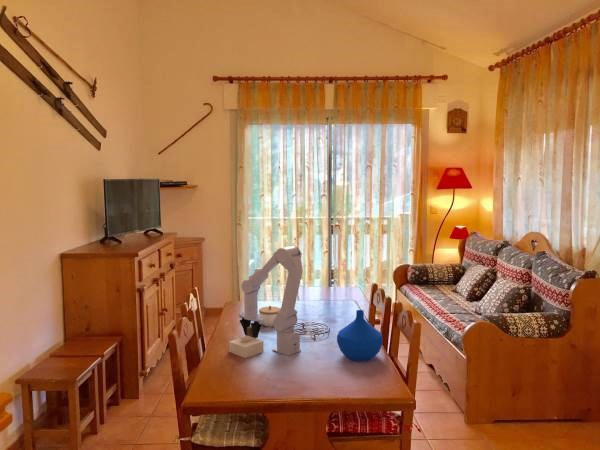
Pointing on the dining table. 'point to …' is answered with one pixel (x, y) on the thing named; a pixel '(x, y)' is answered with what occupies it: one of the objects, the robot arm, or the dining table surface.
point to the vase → (359, 339)
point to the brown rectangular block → (249, 331)
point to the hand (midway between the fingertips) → (251, 336)
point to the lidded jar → (268, 314)
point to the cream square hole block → (246, 346)
